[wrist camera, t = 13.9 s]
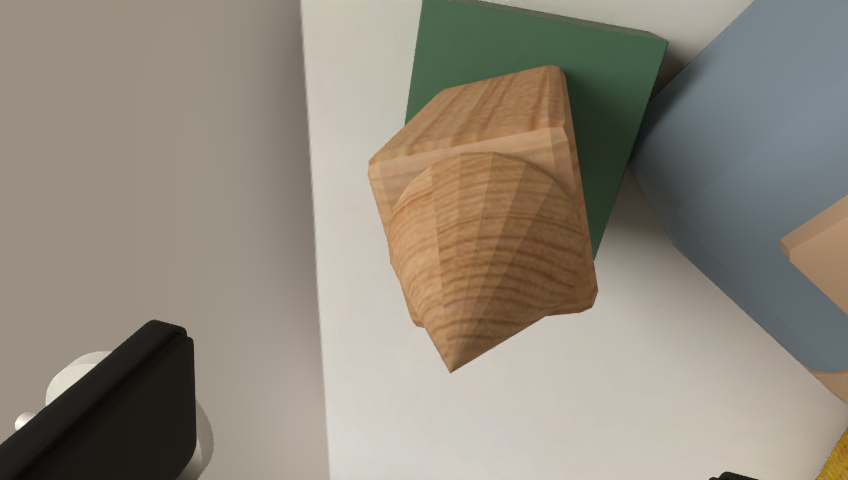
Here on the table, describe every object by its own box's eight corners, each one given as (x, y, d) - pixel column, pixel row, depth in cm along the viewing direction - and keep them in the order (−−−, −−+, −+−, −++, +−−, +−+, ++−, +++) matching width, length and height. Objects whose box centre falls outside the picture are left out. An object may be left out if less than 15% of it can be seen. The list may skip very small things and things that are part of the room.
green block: (413, 181, 38) (391, 214, 33) (443, -7, 33) (422, -5, 27) (587, 221, 37) (594, 261, 31) (648, 31, 31) (669, 41, 26)
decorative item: (581, 185, 30) (628, 487, 12) (462, 205, 31) (347, 491, 14) (562, 59, 27) (584, 202, 9) (434, 89, 29) (252, 255, 11)
